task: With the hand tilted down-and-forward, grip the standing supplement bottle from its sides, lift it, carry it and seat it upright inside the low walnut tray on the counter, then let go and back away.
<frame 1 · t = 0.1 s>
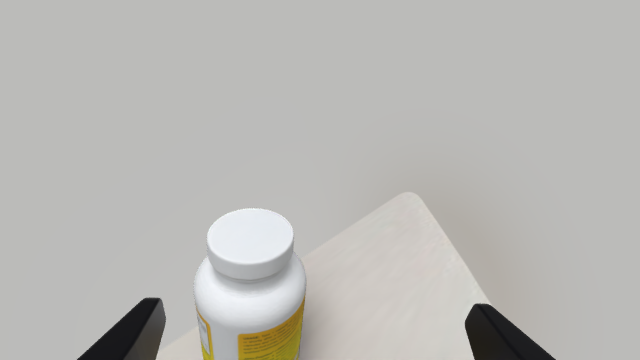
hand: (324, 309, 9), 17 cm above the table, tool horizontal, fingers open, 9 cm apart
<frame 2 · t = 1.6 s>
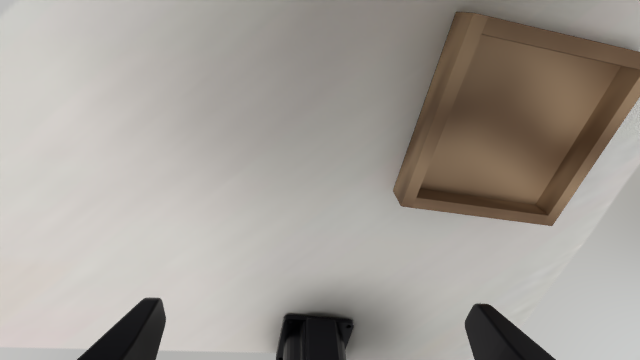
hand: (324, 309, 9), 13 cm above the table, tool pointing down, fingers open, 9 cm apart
walnut tray: (501, 128, 21), on the table
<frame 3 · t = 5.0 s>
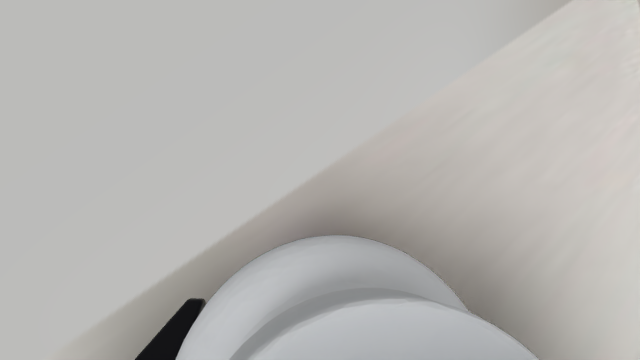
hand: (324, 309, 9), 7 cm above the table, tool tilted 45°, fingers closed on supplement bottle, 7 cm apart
supplement bottle: (305, 319, 15), on the table, touching gripper
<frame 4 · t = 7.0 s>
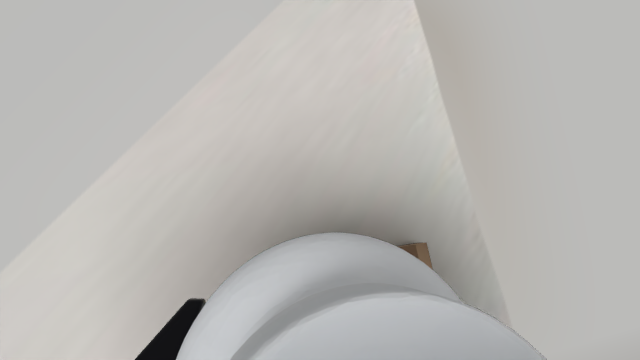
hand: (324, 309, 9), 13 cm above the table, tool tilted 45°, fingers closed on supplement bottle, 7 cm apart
walnut tray: (353, 343, 21), on the table
supplement bottle: (301, 317, 15), point 6 cm above the table, touching gripper
when the fingers open (8 cm above the table, at t = 9.0 s): supplement bottle drops 1 cm, resting on walnut tray.
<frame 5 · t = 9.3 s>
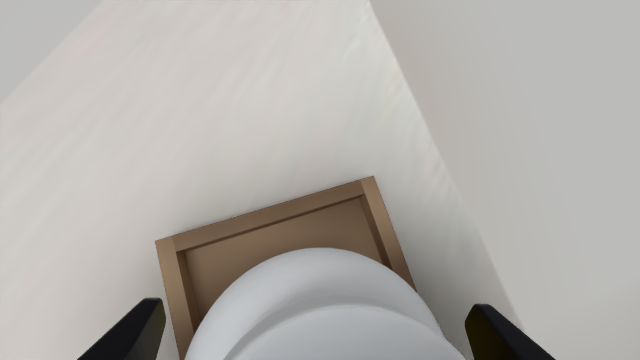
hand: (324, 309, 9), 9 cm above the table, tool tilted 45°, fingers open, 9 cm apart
walnut tray: (302, 313, 17), on the table
supplement bottle: (301, 318, 17), resting on walnut tray
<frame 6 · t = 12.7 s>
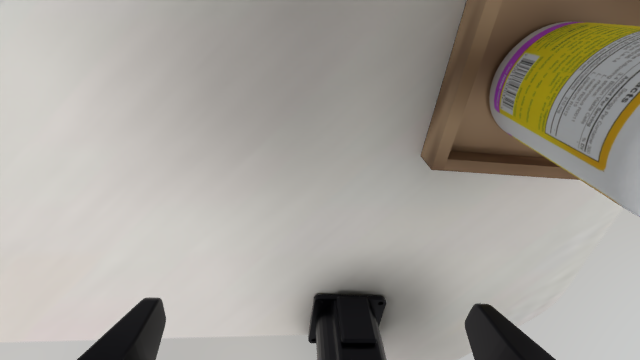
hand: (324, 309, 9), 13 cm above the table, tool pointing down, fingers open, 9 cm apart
walnut tray: (536, 77, 19), on the table
supplement bottle: (537, 80, 19), resting on walnut tray
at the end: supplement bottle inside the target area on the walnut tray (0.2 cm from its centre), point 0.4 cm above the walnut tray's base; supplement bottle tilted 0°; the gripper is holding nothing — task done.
